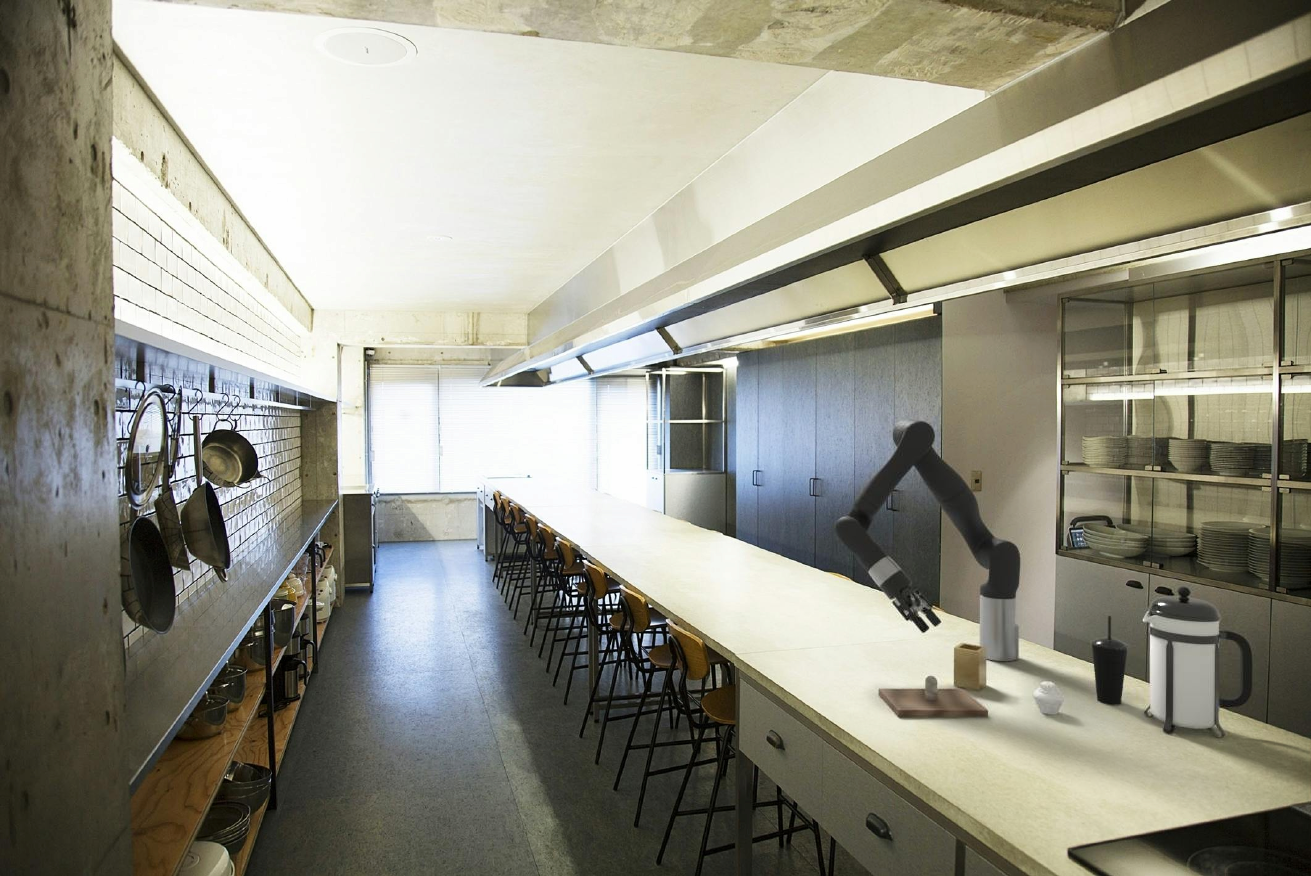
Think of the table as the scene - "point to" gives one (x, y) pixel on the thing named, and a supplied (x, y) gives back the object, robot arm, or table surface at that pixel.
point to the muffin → (1048, 698)
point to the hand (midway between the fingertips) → (932, 627)
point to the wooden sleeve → (970, 666)
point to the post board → (932, 702)
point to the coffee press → (1190, 663)
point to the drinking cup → (1109, 667)
